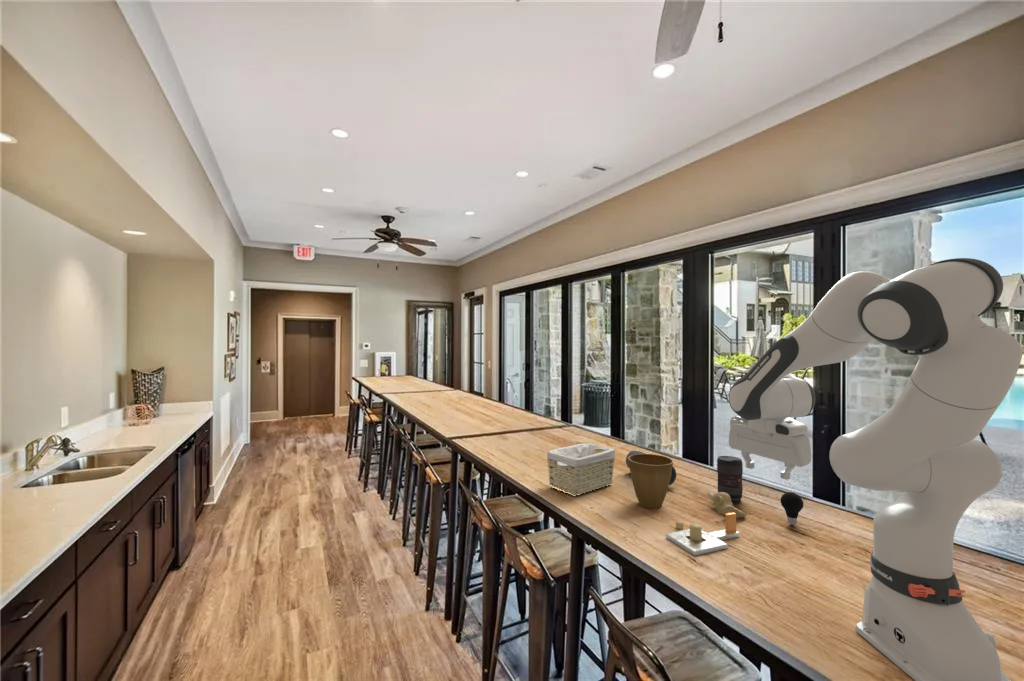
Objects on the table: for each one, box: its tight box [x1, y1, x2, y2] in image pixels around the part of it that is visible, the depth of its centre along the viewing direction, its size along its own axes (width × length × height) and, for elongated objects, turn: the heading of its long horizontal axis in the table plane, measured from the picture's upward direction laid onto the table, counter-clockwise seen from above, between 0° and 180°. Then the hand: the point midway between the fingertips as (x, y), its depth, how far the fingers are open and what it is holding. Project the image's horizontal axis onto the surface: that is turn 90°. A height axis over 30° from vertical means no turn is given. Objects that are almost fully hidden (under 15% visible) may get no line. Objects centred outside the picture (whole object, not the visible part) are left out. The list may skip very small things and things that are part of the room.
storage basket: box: [546, 442, 616, 495], centre depth 168 cm, size 24×16×15 cm
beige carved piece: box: [707, 491, 748, 519], centre depth 139 cm, size 8×7×12 cm
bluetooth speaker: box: [625, 450, 677, 486], centre depth 175 cm, size 23×9×10 cm, turn 17°
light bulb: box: [780, 491, 804, 526], centre depth 131 cm, size 6×6×10 cm
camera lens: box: [716, 455, 744, 504], centre depth 152 cm, size 8×8×15 cm
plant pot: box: [628, 453, 674, 509], centre depth 149 cm, size 15×15×16 cm
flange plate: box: [665, 512, 740, 557], centre depth 119 cm, size 20×11×6 cm, turn 109°
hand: (767, 473), depth 114 cm, fingers open, 8 cm apart
